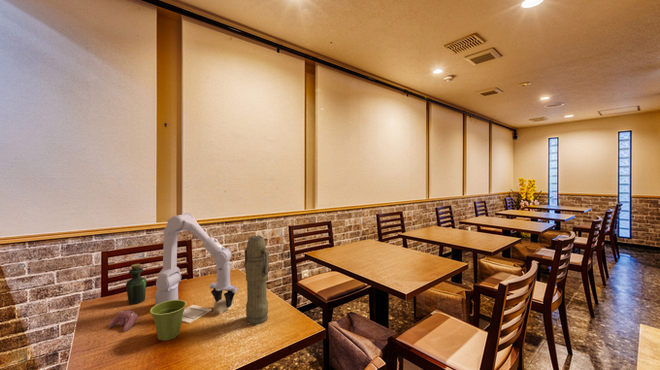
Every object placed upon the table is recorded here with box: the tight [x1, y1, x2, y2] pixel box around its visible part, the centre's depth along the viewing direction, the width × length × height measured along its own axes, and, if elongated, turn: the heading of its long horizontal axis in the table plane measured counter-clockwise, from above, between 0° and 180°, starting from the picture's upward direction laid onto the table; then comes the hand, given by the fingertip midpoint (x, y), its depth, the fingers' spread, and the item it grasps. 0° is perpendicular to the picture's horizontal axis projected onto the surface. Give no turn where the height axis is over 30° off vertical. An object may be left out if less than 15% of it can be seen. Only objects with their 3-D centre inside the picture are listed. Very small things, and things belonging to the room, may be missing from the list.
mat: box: [182, 304, 213, 324], centre depth 119 cm, size 12×12×1 cm
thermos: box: [244, 235, 270, 326], centre depth 114 cm, size 9×12×35 cm
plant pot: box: [149, 299, 187, 342], centre depth 103 cm, size 12×12×11 cm
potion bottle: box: [125, 263, 147, 305], centre depth 131 cm, size 8×8×18 cm
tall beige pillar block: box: [213, 297, 235, 315], centre depth 124 cm, size 4×8×4 cm, turn 155°
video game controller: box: [108, 310, 138, 332], centre depth 110 cm, size 10×5×7 cm, turn 71°
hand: (223, 305), depth 124 cm, fingers open, 5 cm apart
